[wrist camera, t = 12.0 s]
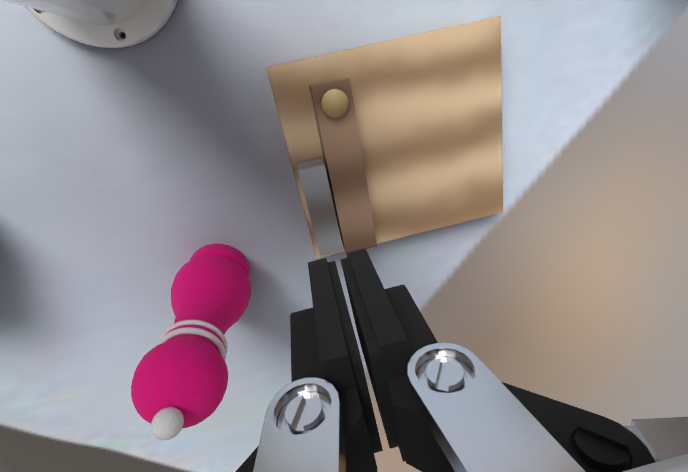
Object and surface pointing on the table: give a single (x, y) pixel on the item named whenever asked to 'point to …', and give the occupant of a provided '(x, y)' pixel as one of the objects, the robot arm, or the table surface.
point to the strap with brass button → (344, 162)
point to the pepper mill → (193, 343)
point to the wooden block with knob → (404, 130)
